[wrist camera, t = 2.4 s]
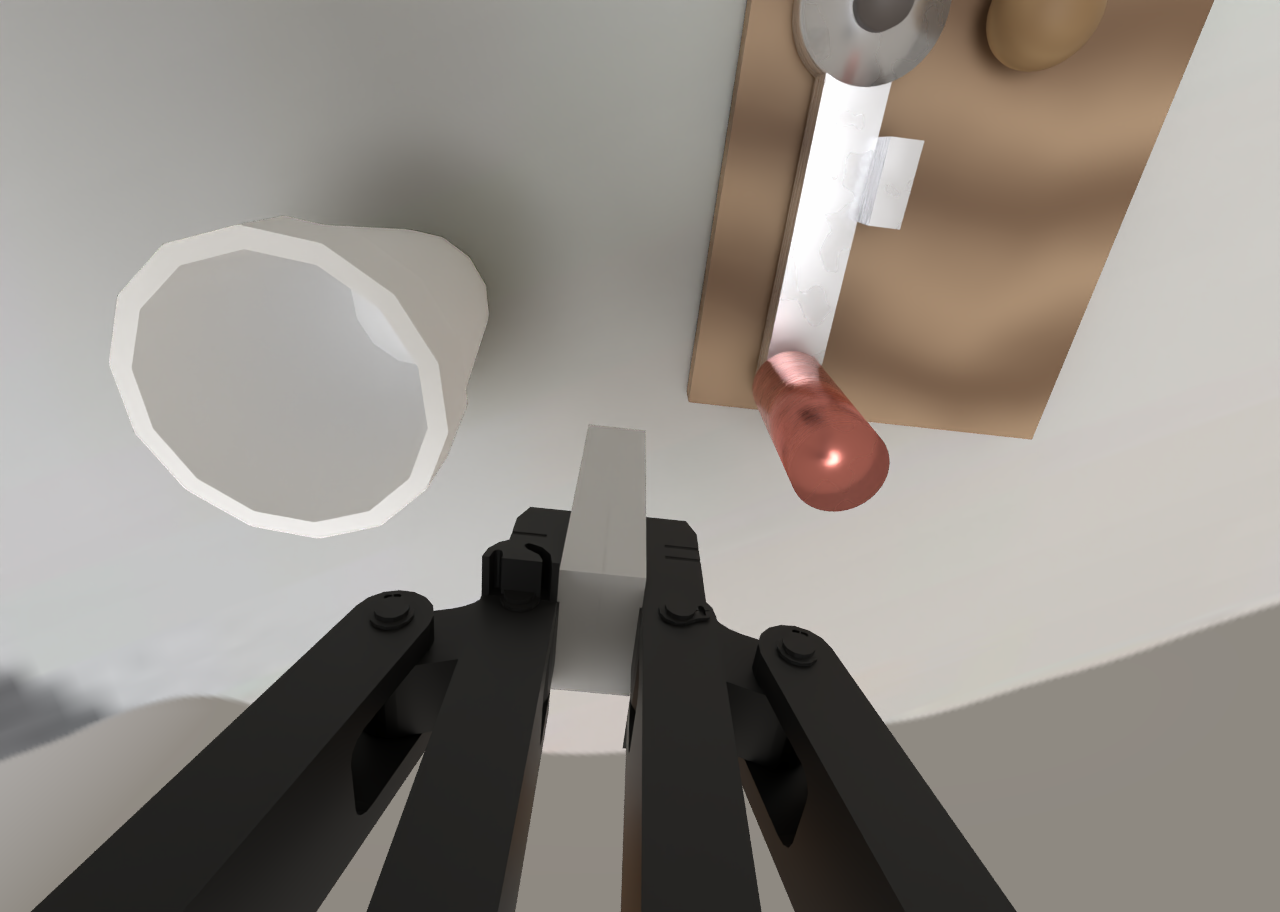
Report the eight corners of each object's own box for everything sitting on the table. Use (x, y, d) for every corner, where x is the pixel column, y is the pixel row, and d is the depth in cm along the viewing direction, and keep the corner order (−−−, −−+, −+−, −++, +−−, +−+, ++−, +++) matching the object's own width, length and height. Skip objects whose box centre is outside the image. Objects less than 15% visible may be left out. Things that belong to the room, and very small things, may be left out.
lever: (809, -82, 23) (916, -227, 14) (947, -61, 23) (1140, -192, 14) (721, 400, 30) (754, 503, 22) (825, 411, 31) (900, 518, 22)
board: (777, -196, 23) (810, -277, 18) (1236, -125, 23) (1371, -187, 19) (686, 391, 32) (693, 429, 28) (1015, 427, 33) (1072, 469, 29)
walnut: (987, -46, 23) (1043, -76, 20) (1083, -32, 23) (1154, -60, 20) (955, 69, 25) (1002, 58, 22) (1045, 82, 25) (1105, 72, 22)
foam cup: (350, 153, 28) (134, 158, 16) (551, 250, 29) (491, 320, 18) (300, 348, 31) (95, 469, 20) (481, 424, 33) (393, 577, 21)
